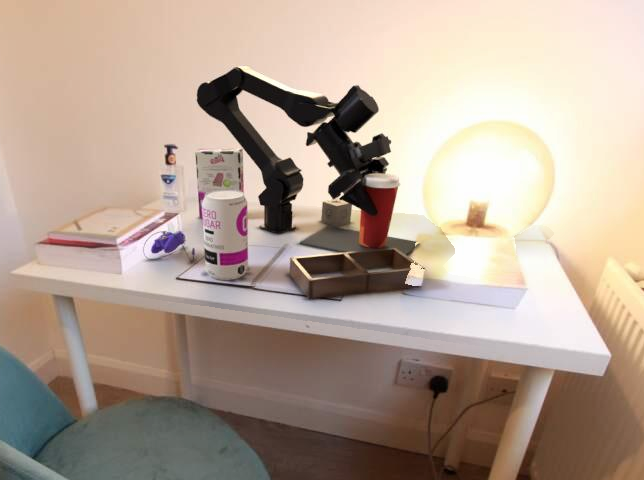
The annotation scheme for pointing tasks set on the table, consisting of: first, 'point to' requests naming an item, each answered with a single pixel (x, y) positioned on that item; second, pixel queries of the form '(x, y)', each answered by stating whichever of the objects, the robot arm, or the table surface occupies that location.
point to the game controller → (169, 243)
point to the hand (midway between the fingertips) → (382, 210)
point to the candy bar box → (218, 171)
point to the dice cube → (336, 212)
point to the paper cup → (378, 209)
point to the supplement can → (225, 234)
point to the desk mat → (351, 241)
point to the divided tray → (351, 272)
